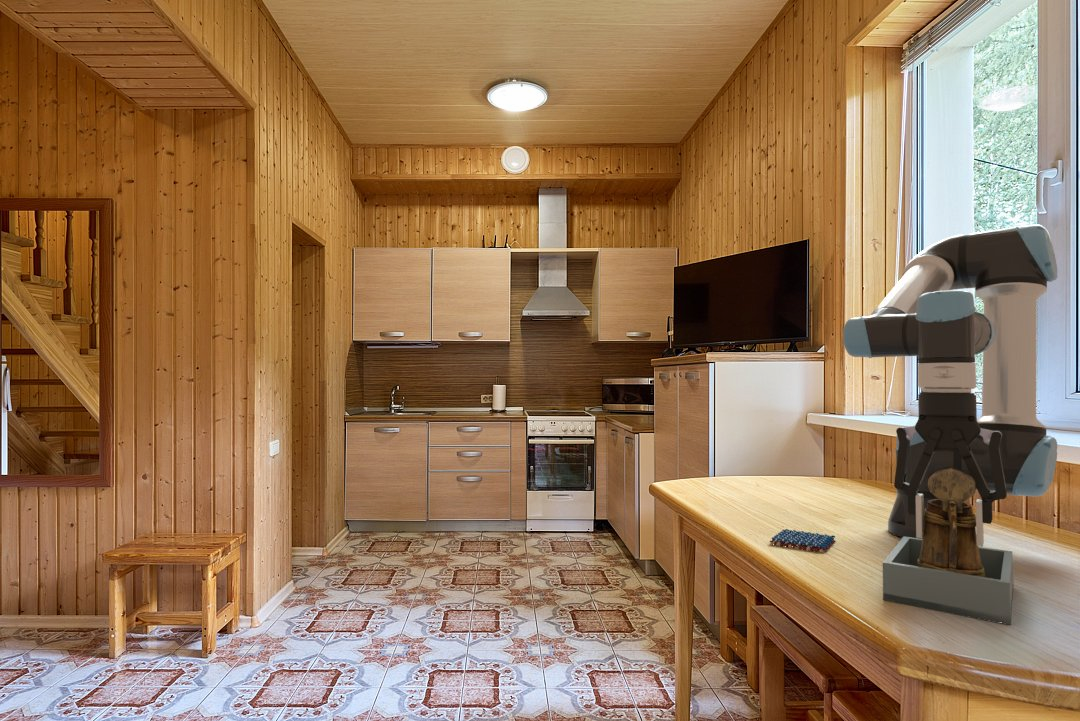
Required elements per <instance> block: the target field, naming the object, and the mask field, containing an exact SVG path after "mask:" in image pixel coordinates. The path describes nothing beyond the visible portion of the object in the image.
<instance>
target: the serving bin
mask: <svg viewBox="0 0 1080 721" xmlns="http://www.w3.org/2000/svg"><path fill="white" fill-rule="evenodd" d="M921 546H922V539H919V538H912V537H905V536H904V537H901V539H900V540H899V542H898V543H897V544H896V546H894V548H893V549H892V550H891V551H890V553H889V554H887V556H886V557H885V559H884V560H883V561H882V600H883V601H887V602H893V603H897V604H903V605H907V606H911V605H912V606H913V607H917V608H922V607H923V608H922V609H927V608H928V610H932V609H933V611H937V610H938V612H943V613H947V612H948V613H947V614H952V613H953V614H952V615H957V614H958V616H962V615H964V616H963V617H967V616H970V617H969V618H972V617H974V618H973V619H977V618H980V619H979V620H982V619H985V620H984V621H987V620H990V621H989V622H992V621H995V622H994V623H997V622H1002V623H1006V624H1005V625H1007V624H1010V625H1009V626H1011V624H1012V612H1011V611H1012V608H1013V596H1014V567H1013V566H1014V562H1013V559H1014V558H1013V551H1011V550H1007V549H1006V550H1005V549H999V548H998V549H997V548H991V547H989V548H988V547H985V546H983V547H981V546H978V548H979V553H980V559H981V565H982V566H983V567H984V572H985V577H980V576H974V575H967V574H961V573H955V572H949V571H943V570H937V569H931V568H924V567H918V566H917V561H918V559H919V558H920V552H921ZM912 606H911V607H912ZM1002 623H1001V624H1002Z"/></svg>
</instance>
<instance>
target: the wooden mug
mask: <svg viewBox="0 0 1080 721" xmlns="http://www.w3.org/2000/svg"><path fill="white" fill-rule="evenodd" d="M927 486H928V489H929V491H930V492H931V493H932V494H933V495H934V496H935V497H937V498H938V499H933V500H928V502H927V508H926V509H925V512H924V519H925V525H924V536H923V539H922V546H921V552H920V558H919V559H918V561H917V566H918V567H924V568H931V569H937V570H943V571H949V572H955V573H961V574H967V575H974V576H980V577H985V572H984V567H983V566H982V565H981V559H980V553H979V548H978V547H979V546H977V540H976V513H974V509H973V505H972V504H971V503H969V502H968V503H967V502H966V501H967V500H969V499H971V498H972V497H974V495H975V494H976V492H977V491H976V483H975V480H974V478H973V477H972V476H971V475H969V474H968V473H966V472H964V471H962V470H960V469H958V468H955V467H953V466H949V467H946V468H943V469H940V470H937V471H935V472H934V473H932V474H931V475H930V476H929V478H928V481H927Z"/></svg>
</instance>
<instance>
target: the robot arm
mask: <svg viewBox="0 0 1080 721" xmlns="http://www.w3.org/2000/svg"><path fill="white" fill-rule="evenodd" d="M1057 279H1058V265H1057V258H1056V255H1055V250H1054V245H1053V243H1052V239H1051V235H1050V233H1049V231H1048V229H1047V228H1046V227H1045V226H1043V225H1041V224H1028V225H1027V224H1026V225H1015V226H1012V227H1004V228H999V229H998V228H997V229H991V230H985V231H977V232H972V233H966V234H965V233H963V234H962V233H961V234H957V235H953V236H949V237H947V238H944V239H941V240H940V241H938V242H936V243H933V244H931V245H930V246H928V247H926V248H925V249H923V250H921V251H920V252H918V254H916V255H915V256H913V257H912V259H910V260H909V262H908V263H907V264H906V265H905V266H904V269H903V270H902V274H901V279H900V280H898V282H897V283H896V284H895V285H894V287H893V288H892V289H891V290H890V291H889V293H888V294H887V295H886V296H885V297H884V299H883V300H882V301H881V302H880V303H879V304H878V305H877V307H876V308H875V309H874V310H873V311H872V313H871V314H870V315H869V316H864V315H863V316H859V317H852V318H850V319H847V321H845V322H846V323H845V324H844V327H843V329H842V330H843V332H842V338H843V341H842V342H843V345H844V350H845V351H846V352H847V354H848V355H850V356H851V357H854V358H868V359H872V358H890V357H891V358H893V357H917V388H919V389H922V390H921V392H919V394H917V398H918V399H917V402H918V405H917V406H918V418H917V421H916V423H915V424H914V425H912V426H911V425H910V426H899V427H897V428H896V429H895V430H896V445H895V446H896V448H894V451H895V462H896V463H895V466H896V467H895V475H894V484H893V486H894V488H895V489H896V498H895V500H894V503H893V506H892V509H891V512H890V514H889V517H888V521H887V524H888V525H887V529H888V532H889V533H890V534H892V535H895V536H897V537H900V538H903V537H904V536H905V537H912V538H919V539H923V536H924V525H925V519H924V512H925V509H926V508H927V502H928V500H933V499H938V498H937V497H935V496H934V495H933V494H932V493H931V492H930V491H929V489H928V486H927V481H928V478H929V476H930V475H931V474H932V473H934V472H935V471H937V470H940V469H943V468H946V467H949V466H953V467H955V468H958V469H960V470H962V471H964V472H966V473H968V474H969V475H971V476H972V477H973V478H974V480H975V483H976V491H975V492H978V494H979V497H980V498H981V499H978V498H977V499H976V500H975V515H976V540H977V546H978V547H984V545H985V539H984V538H985V537H984V532H985V531H984V524H989V525H990V524H992V521H993V520H994V519H993V503H994V502H995V501H998V500H1005V499H1006V498H1007V495H1010V496H1011V495H1012V496H1015V497H1019V496H1023V497H1035V498H1036V497H1041V496H1044V495H1046V494H1047V492H1048V491H1049V489H1050V487H1051V485H1052V483H1053V479H1054V476H1055V471H1056V468H1057V467H1056V466H1057V459H1058V441H1057V439H1056V438H1055V437H1054V436H1051V435H1047V426H1046V425H1045V424H1043V423H1042V422H1041V421H1040V420H1039V419H1038V418H1037V378H1038V377H1037V368H1038V366H1037V364H1038V363H1037V358H1038V357H1037V356H1038V354H1037V353H1038V351H1037V348H1038V346H1037V345H1038V344H1037V341H1038V340H1037V339H1038V336H1037V335H1038V332H1037V331H1038V325H1037V324H1038V323H1037V322H1038V299H1039V298H1040V297H1041V296H1043V295H1044V294H1045V293H1046V292H1047V290H1048V283H1051V282H1053V281H1056V280H1057ZM964 289H975V295H976V296H977V297H978V298H979V299H981V300H982V301H983V313H982V312H979V311H977V310H976V309H977V308H976V306H975V301H974V300H975V298H974V294H973V293H972V292H970V291H968V290H964ZM981 353H982V388H981V389H982V393H981V394H982V396H981V398H982V400H981V402H982V403H981V405H982V406H981V415H980V417H978V418H977V415H978V414H977V413H978V412H977V394H975V393H976V392H975V393H974V392H972V390H974V389H976V388H977V371H976V369H977V366H976V365H977V362H976V355H978V354H981Z"/></svg>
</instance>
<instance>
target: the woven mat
mask: <svg viewBox="0 0 1080 721" xmlns="http://www.w3.org/2000/svg"><path fill="white" fill-rule="evenodd" d="M835 538H836V536H835V535H830V534H819V533H818V532H816V533H815V532H810V531H808V532H807V531H804V530H798V531H797V530H795V529H793V530H792V529H787V528H785V529H781V530H780V532H777V533H776V534H775V535H774V536H772V537H771V540H769V543H772V544H771V545H773V544H775V546H776V547H782V548H784V547H785V546H787V545H788V546H787V547H789V548H788V549H793V548H792V546H795V547H794V548H799V549H800V550H801V549H804V551H807V550H808V551H807V552H811V551H812V553H817V550H818V551H819V553H820V554H824V553H826V552H828V550H829V548H831V547H832V546H833V544H835V543H836V540H835ZM800 547H801V548H800ZM806 547H807V548H806ZM810 550H811V551H810ZM824 551H825V552H824ZM823 552H824V553H823Z"/></svg>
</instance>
